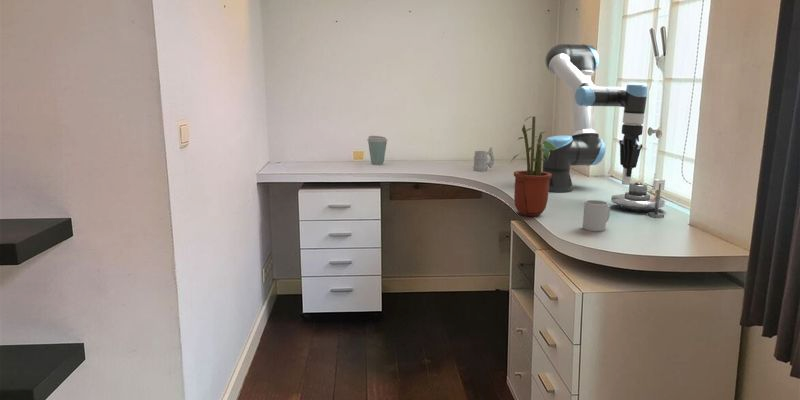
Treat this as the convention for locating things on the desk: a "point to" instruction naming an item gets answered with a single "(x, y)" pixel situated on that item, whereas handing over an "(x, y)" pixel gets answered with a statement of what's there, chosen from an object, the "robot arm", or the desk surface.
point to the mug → (483, 160)
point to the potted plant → (532, 177)
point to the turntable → (638, 204)
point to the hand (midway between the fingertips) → (625, 184)
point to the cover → (637, 192)
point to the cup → (595, 215)
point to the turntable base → (636, 209)
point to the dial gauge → (657, 197)
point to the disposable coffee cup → (377, 149)
